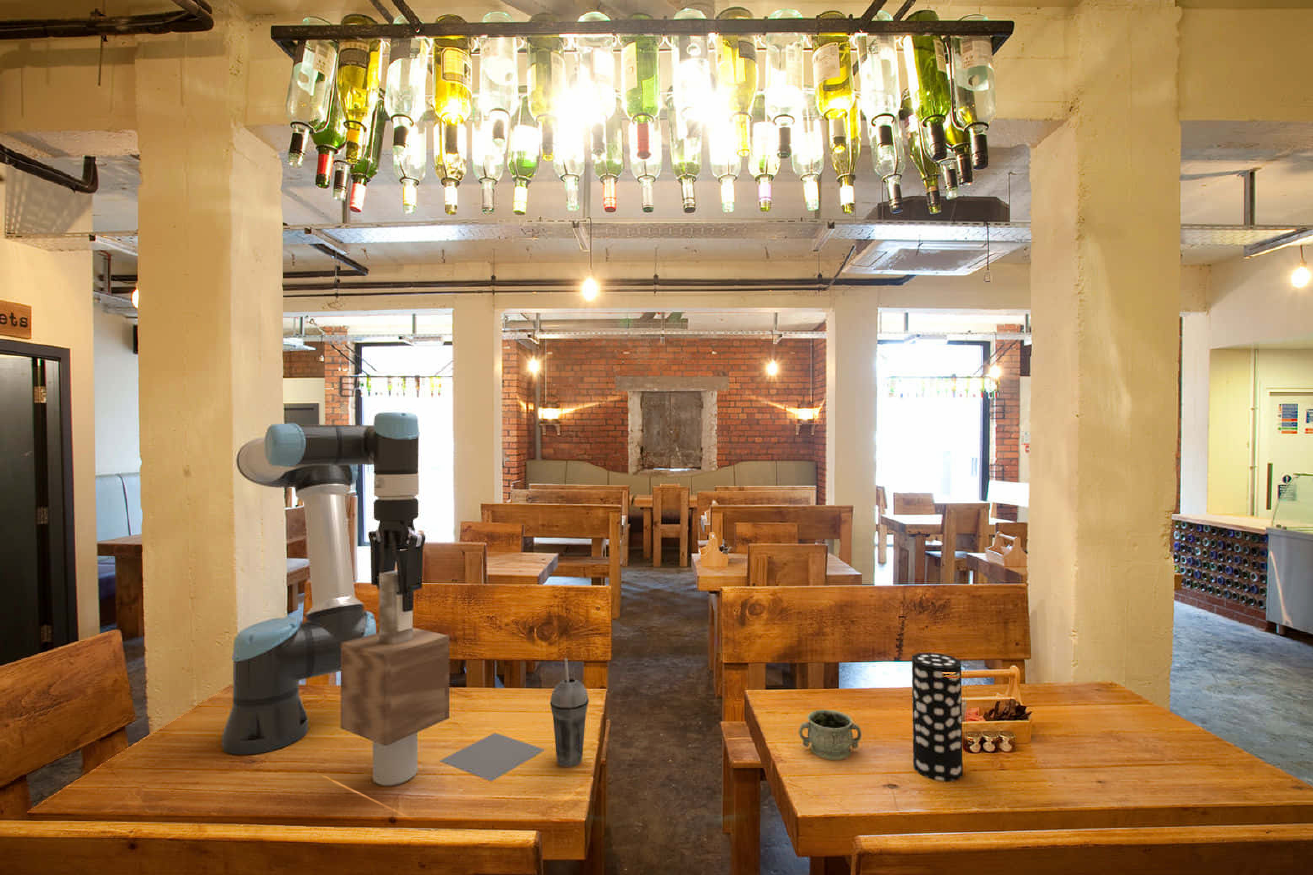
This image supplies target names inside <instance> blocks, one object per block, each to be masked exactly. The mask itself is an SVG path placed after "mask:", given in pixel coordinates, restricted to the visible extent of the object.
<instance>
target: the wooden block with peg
mask: <svg viewBox="0 0 1313 875" xmlns="http://www.w3.org/2000/svg"><path fill="white" fill-rule="evenodd" d="M378 591H379V593H378V594H379V598H378V600H379V601H378V602H379V604H378V608H379V610H378V612H379V613H378V618H379V619H378V620H379V622H378V625H379V628H378V633H377V632H376V634H372V635H369V636H365V637H361V638H358V639H354V640H350V641H346V642H343V643H341V671H340V729H341V730H344V731H345V732H350V734H351V733H352V734H354V735H357V736H359V737H362V738H364V739H367V740H369V741H371V742H373V741H374V742H377V743H379V744H382V745H384V746H387V745H389V744H392V743H394V742H396V741H399V740H401V739H403V738H405V737H408V736H410V735H412V734H414V733H417V734H418V733H419V732H421V731H423V730H426V729H428V728H431V727H433V726H434V725H437V724H439V723H441V722H444V721H446V720H448V719H450V635H448V634H443V633H439V632H434V631H429V630H424V629H420V628H415V627H414V626H413V625H414V624H413V619H414V618H413V617H414V616H413V614H414V613H413V611H414V609H413V610H412V628H410V629H406V630H402V631H397V593H396V592H398V591H400V589H399V581H398V573H397V569H395V571H390V572H384V573H379V590H378Z"/></svg>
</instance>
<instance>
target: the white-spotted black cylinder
mask: <svg viewBox="0 0 1313 875" xmlns="http://www.w3.org/2000/svg"><path fill="white" fill-rule="evenodd" d="M911 668H912V669H911V677H912V678H911V679H912V680H911V682H912V684H911V688H912V689H911V690H912V694H911V695H912V696H911V698H912V700H911V701H912V766H913V769H914V770H915V771H916V773H918V774H920V775H921V776H924V777H926V778H928V779H932V780H936V781H940V782H942V781H943V782H953V781H957V780H960V779H961V778H962V777H963V774H964V773H963V765H964V764H963V712H962V711H963V708H962V706H963V705H962V704H963V703H962V702H963V701H962V700H963V698H962V662H961V660H960V659H958V658H956V657H954V656H951V655H949V654H948V655H947V654H944V653H943V654H942V653H936V652H921V653H920V652H919V653H915V654H913V655H912V656H911ZM942 672H956V673H955V674H943V673H942ZM945 675H954V676H959V677H961V678H947V677H942V676H945Z"/></svg>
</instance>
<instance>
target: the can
mask: <svg viewBox="0 0 1313 875" xmlns="http://www.w3.org/2000/svg"><path fill="white" fill-rule="evenodd" d="M417 773H418V732H417V733H414V734H412V735H410V736H408V737H405V738H403V739H401V740H399V741H396V742H394V743H392V744H389V745H387V746H384V745H382V744H379V743H377V742H374V741H372V780H373V782H374V783H376V784H378V785H380V786H383V787H385V786H386V787H390V786H391V787H393V786H397V785H402V784H404V783H406V782H408V781H410V780H411V779H412V778H414V776H416V774H417Z"/></svg>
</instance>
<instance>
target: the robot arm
mask: <svg viewBox="0 0 1313 875" xmlns="http://www.w3.org/2000/svg"><path fill="white" fill-rule="evenodd" d="M264 435H265V436H264V437H259V438H254V439H252V440H250V441H248V442H247V443H245V444H244V445H242V446H241V448H240V449H239V451H238V453H237V455H236V460H235V462H236V467H237V470H238V472H239V473H240V474H241V476H242V477H243V478H245V479H246V480H247V481H249V482H251V483H252V484H256V485H259V486H263V487H268V488H275V489H276V488H280V489H281V488H294V493H295V497H296V498H298V499H299V500H300V501H302V502H303V506H304V519H305V531H306V542H307V553H308V563H309V564H308V565H309V567H308V568H309V576H310V577H309V579H310V588H311V598H312V600H311V601H312V606H311V607H310V609H309V610H308V611H307V612H306V613H305V620H306V621H305V622H301V621H300V619H299V618H298V617H295V616H285V617H277V618H272V619H266V620H264V621H260V622H258V623H255V624H251V625H249V626H248V627H247V626H246V628H244V629H242V630H241V631H239V632H238V633H237V634H236V636H235V638H234V640H233V647H232V648H233V651H232V655H231V658H232V661H233V662H232V663H233V664H232V665H233V666H232V675H233V676H232V681H233V682H232V707H231V711H230V713H229V716H228V719H227V722H226V724H225V727H224V730H223V732H222V735H221V748H222V750H223V751H224V752H225V753H228V754H231V755H232V754H234V755H253V754H254V755H255V754H261V753H267V752H271V751H275V750H278V749H280V748H284V747H286V746H289V745H291V744H293V743H296V742H298V741H299V740H301V739H302V738H303V737H305V736H306V735H307V733H308V732H309V717H308V715H307V712H306V710H305V707H304V704H303V702H302V699H301V697H300V688H299V687H300V686H299V685H300V681H302V680H307V679H311V678H315V677H320V676H324V675H329V674H333V673H334V674H335V673H338V672H341V643H343V642H346V641H350V640H354V639H358V638H361V637H365V636H369V635H372V634H376V633H377V622H376V619H375V616H374V614H373V612H371V611H367V610H365V607H364V603H363V602H362V601H360V600H359V599H358V598H357V597H356V593H355V592H356V591H355V583H354V573H353V564H352V563H353V562H352V552H351V545H350V536H349V535H350V534H349V525H348V519H347V518H348V516H347V508H346V506H347V505H346V499H345V498H346V496H347V495H348V494H349V493H350V492H351V491H352V488H351V486H352V485H354V484H355V483H357V482H356V481H357V480H358V477H359V476H358V475H359V473H358V470H359V466H360V465H363V466H365V465H366V466H370V465H373V476H374V477H373V479H374V480H373V485H374V486H373V496H374V497H377V499H375V500H374V501H373V519H374V520H375V521H378V522H379V523H378V527H377V529H376V530H372V531H368V533H367V534H368V540H369V544H370V545H369V546H370V583H371V585H372V586H376V589H378V591H379V573H384V572H390V571H395V570H397V573H398V581H399V589H400V591H398V592H396V593H397V631H402V630H406V629H410V628H412V610H413V611H414V593H415V592H416V591H418V590H421V589H423V576H424V574H423V572H424V571H423V570H424V569H423V568H424V566H423V565H424V563H423V562H424V547H425V543H426V538H427V537H426V535H425V534H424V533H423V534H419V533H418V532H416V529H415V525H414V520H415V519H417V518H419V499H418V498H416V496H418V495H419V494H420V492H419V490H420V487H419V486H420V483H419V481H420V480H419V478H420V477H419V476H420V475H419V445H420V444H419V442H420V441H419V437H420V430H419V419H418V416H417V415H416V414H414V413H412V412H411V413H410V412H398V411H397V412H395V411H394V412H392V411H391V412H378V413H376V414H375V416H374V418H373V425H372V424H371V425H368V424H367V425H363V424H361V425H360V424H314V423H313V424H309V423H305V424H304V423H295V422H288V423H287V422H286V423H274V424H271V425H269V426H268V427H267V429H266V433H265V434H264Z"/></svg>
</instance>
